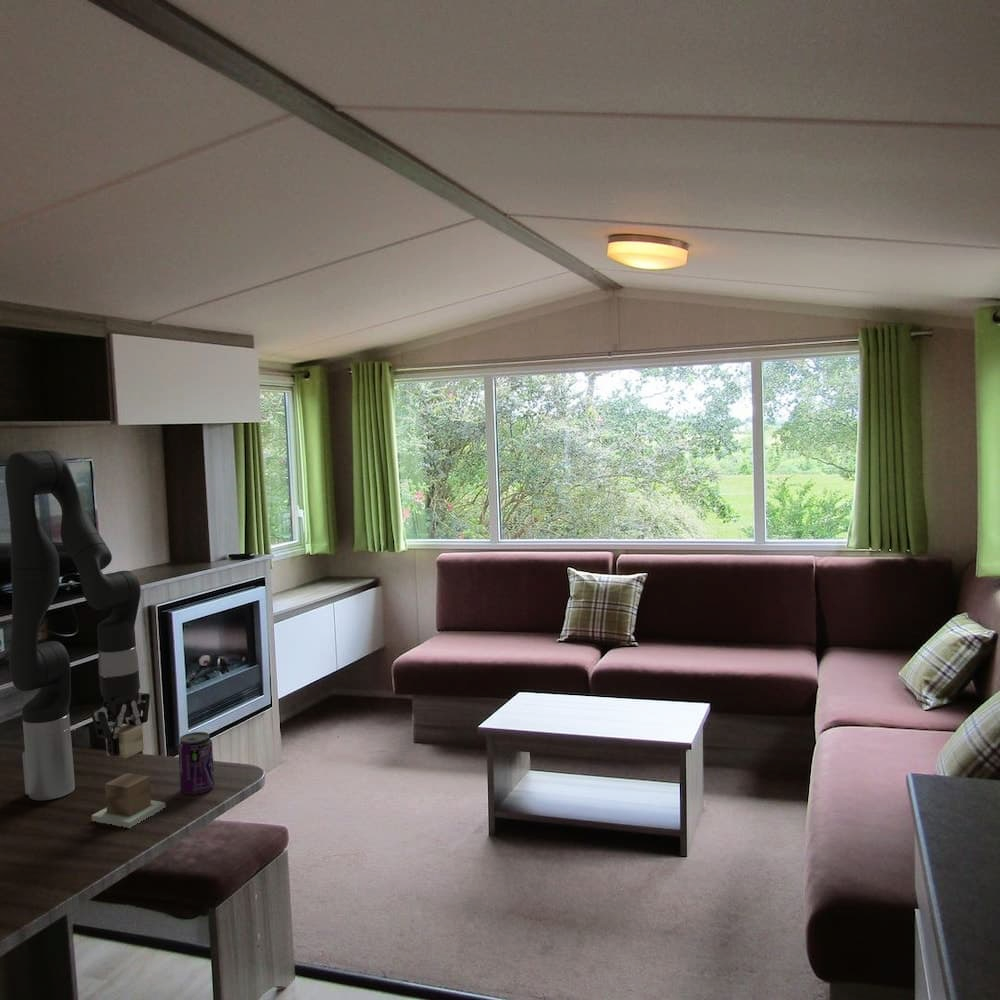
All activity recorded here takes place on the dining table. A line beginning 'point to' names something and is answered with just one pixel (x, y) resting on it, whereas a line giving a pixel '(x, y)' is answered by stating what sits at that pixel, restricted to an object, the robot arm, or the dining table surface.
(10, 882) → the dining table surface
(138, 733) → the beech cube
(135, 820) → the plate
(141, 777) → the walnut cube
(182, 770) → the beverage can
